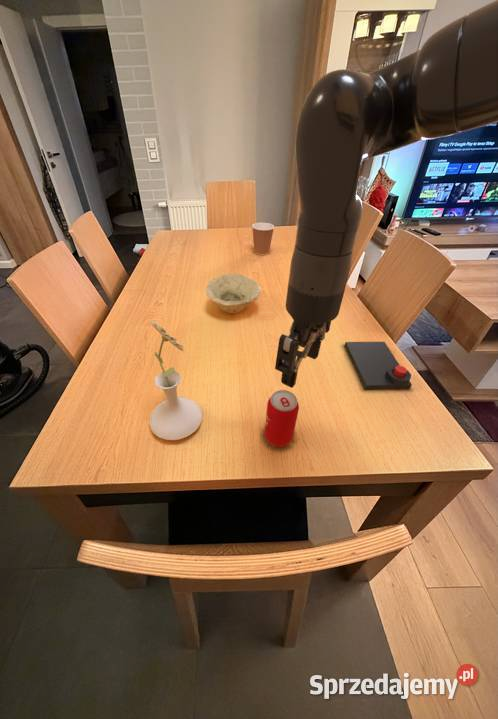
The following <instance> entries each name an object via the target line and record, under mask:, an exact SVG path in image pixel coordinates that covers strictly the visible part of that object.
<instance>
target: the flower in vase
mask: <svg viewBox="0 0 498 719" xmlns="http://www.w3.org/2000/svg"><path fill="white" fill-rule="evenodd" d="M149 323H150V324H151V326H152V327H153V328H154V329H155V330H156V331H157V332H158V333H159V334H160V335H161V342H160V346H159V350H158V353H157V352H156V351H155V352H154V356H155V357H156V359H157V360H158V362H159V365H160V367H161V370H162V371H161V372H160V373H158V374H157V375H156V376H155V378H154V384H155V385H156V387H157V388H160V389H161V390H162V391H163V393H164V396H165V398H166V399H165V400H163V401H161V402H160V403H158V404H157V405H156V406H155V407H154V408H153V410H152V412H151V413H150V416H149V422H148V423H149V428H150V430H151V432H152V433H153V434H154V435H155V436H157V437H158V438H160V439H163V440H165V441H166V440H167V441H178V440H182V439H185V438H188V436H190V435H192V434H193V433H195V432H196V430H198V429H199V427H200V425H201V423H202V421H203V413H202V409H201V408H200V406H199V404H197V403H196V402H195V401H194V400H193V399H191V398H187V397H183V396H178V386H179V384H180V383H181V381H182V375H181V374H180V372H178V371H175V370H176V369H175V367H169V368H168V369H166V370H165V368H164V366H163V364H164V360H163V358H162V357H161V354H162V350H163V345H164V342H165V343H166V342H169V343H170V344H172V346H174V347H175V348H177V349H178V350H179V351H181V352H184V351H185V349H184V345H183V344H181V343H180V342H178V341H177V339H176V337H174V336H173V335H170V333H168V332H167V330H166V329H165V328H164V327H163V326H161V325H159V323H158V322H157V321H156V320H151V319H150V321H149Z"/></svg>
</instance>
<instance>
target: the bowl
mask: <svg viewBox="0 0 498 719" xmlns="http://www.w3.org/2000/svg"><path fill="white" fill-rule="evenodd" d="M205 295H206V297H207V298H208V299H209V300H210V301H212V302H213V303H214V304H216V305H217V306H218V307H219V308H220V310H222V311H223V312H225V313H227V314H237V313H241V312H242V311H243V310H244V309H246V308H247V307H248V306H249V305H250V304H251V303H252V302H254V301H257V300H258V299H259V297H260V295H261V287H260V285H259V284H258V282H256V280H254V279H252V278H251V277H249V276H247V275H244V274H237V273H224V274H222V275H221V276H218V277H215V278H213V279H211V280H210V281H209V282H208V283H207V285H206V289H205Z"/></svg>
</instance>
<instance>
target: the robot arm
mask: <svg viewBox="0 0 498 719" xmlns="http://www.w3.org/2000/svg"><path fill="white" fill-rule="evenodd" d="M497 123H498V0H494V1H491V2H490V3H488V4H486V5H483V6H482V7H480V8H477V9H475V10H474V11H471V12H470V13H468V14H465V15H463V16H462V17H458V18H457V19H455V20H453V21H451V22H450V23H448V24H447V25H445V26H443V27H442V28H440V29H439V30H437V31H436V32H434V33H433V34H432V35H431V36H429V37H428V38H427V39H426V40H425V42H424V43H423V44H422V45H421V47H420V49H418V50H416V51H414V52H412V53H410V54H408V55H406V56H404V57H402V58H400V59H398V60H396V61H393V62H391V63H390V64H387V65H385V66H383V67H380V68H378V69H375V70H373V71H370V72H365V73H364V72H361V71H357V70H351V69H336V70H333V71H330V72H327V73H326V74H324V75H323V76H322V77H320V78H319V79H318V80H317V81H316V82H315V84H314V85H313V86H312V87H311V89H309V92H308V94H307V95H306V98H305V100H304V102H303V105H302V108H301V110H300V114H299V118H298V122H297V127H296V135H295V164H296V166H295V167H296V178H297V192H298V198H299V212H298V218H297V219H298V220H297V225H296V227H297V228H296V234H295V243H294V248H293V252H292V256H291V259H290V267H289V275H288V276H289V277H288V283H287V289H286V290H287V291H286V299H285V309H286V312H287V314H289V316H290V317H291V319H292V320H293V321H292V323H291V325H290V327H289V334H288V335H286V334H284V333H282V334H281V335H280V336H279V338H278V345H277V352H276V359H275V366H274V369H275V370H276V371H278V372H280V373H281V378H280V382H281V384H282V385H285V386H287V387H288V388H294V387H295V386H296V383H297V378H298V372H299V369H300V365H301V363H302V361H303V359H306V358H307V357H308V358H310V359H313V360H316V359H317V358H318V357H319V354H320V350H321V345H322V342H323V340H325V337H326V334H327V333H329V331H330V330H331V325H332V324H331V323H332V321H334V320H335V319H336V318H337V317H338V316H339V314H340V309H341V306H342V302H343V299H344V296H345V291H346V286H347V283H348V279H349V276H350V272H351V266H352V257H353V251H354V247H355V243H356V239H357V236H358V232H359V228H360V224H361V219H362V213H363V201H362V200H361V198H360V197H359V195H357V193H358V186H359V179H360V172H361V167H362V162H363V161H366V160H369V159H372V158H375V157H378V156H381V155H385V154H387V153H391V152H393V151H396V150H398V149H403V148H404V147H407V146H410V145H413V144H415V143H418V142H421V141H424V140H434V139H439V138H445V137H449V136H453V135H458V134H460V133H465V132H468V131H472V130H476V129H479V128H483V127H486V126H489V125H493V124H497ZM300 347H301V348H303V350H302V351H301V350H300Z"/></svg>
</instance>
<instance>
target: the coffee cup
mask: <svg viewBox="0 0 498 719" xmlns="http://www.w3.org/2000/svg"><path fill="white" fill-rule="evenodd" d="M251 227H252V240H253V252H254V253H255V254H256V255H261V256H264V255H267V254H269V253H270V251H271V250H270V249H271V244H272V241H273V240H272V239H273V234H274V229H275V225H274V224H272V223H270V222H255V223H252V225H251Z"/></svg>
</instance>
